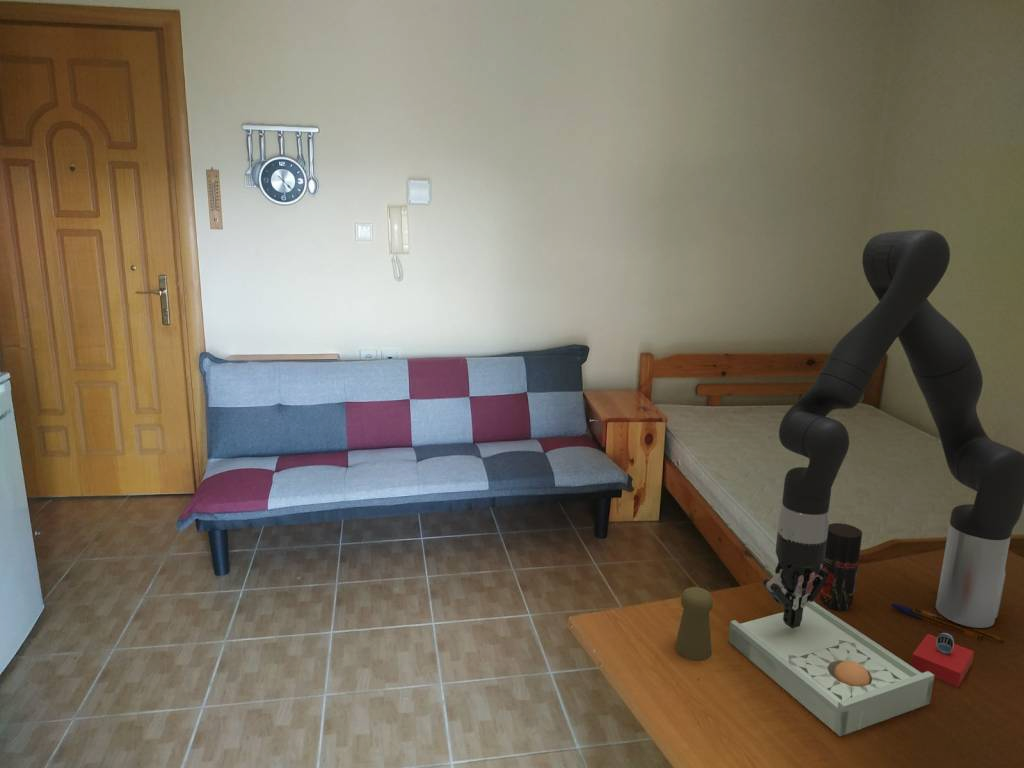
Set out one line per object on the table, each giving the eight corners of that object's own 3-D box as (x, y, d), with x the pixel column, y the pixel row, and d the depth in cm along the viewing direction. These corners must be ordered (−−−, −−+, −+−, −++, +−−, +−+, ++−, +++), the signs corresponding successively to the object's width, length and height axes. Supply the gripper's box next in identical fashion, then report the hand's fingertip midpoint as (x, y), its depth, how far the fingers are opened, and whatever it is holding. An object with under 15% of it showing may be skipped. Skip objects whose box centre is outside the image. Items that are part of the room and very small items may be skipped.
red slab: (925, 648, 119) (930, 615, 117) (971, 666, 114) (977, 632, 112) (910, 669, 113) (915, 634, 112) (957, 688, 108) (964, 653, 107)
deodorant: (856, 612, 128) (866, 538, 125) (821, 609, 130) (831, 535, 126) (847, 596, 134) (857, 524, 130) (815, 592, 135) (823, 521, 132)
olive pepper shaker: (714, 644, 119) (719, 586, 116) (708, 664, 114) (713, 604, 111) (679, 635, 121) (682, 579, 119) (671, 654, 116) (675, 596, 113)
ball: (876, 697, 106) (851, 676, 110) (878, 670, 104) (853, 649, 109) (849, 707, 104) (825, 685, 109) (851, 679, 103) (826, 659, 108)
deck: (808, 619, 126) (811, 594, 125) (930, 704, 105) (935, 675, 103) (728, 641, 120) (730, 616, 118) (840, 737, 98) (844, 707, 97)
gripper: (814, 515, 119) (804, 605, 123) (754, 529, 114) (745, 622, 118) (850, 534, 113) (838, 628, 117) (788, 548, 108) (777, 646, 112)
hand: (791, 625), depth 118 cm, fingers closed
